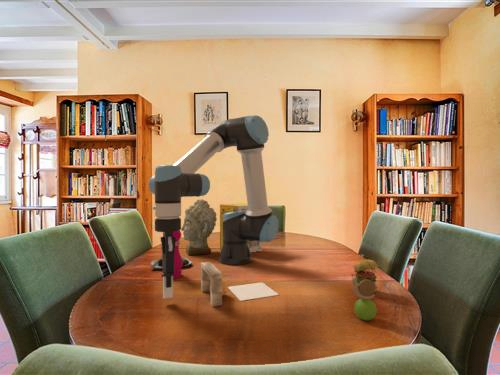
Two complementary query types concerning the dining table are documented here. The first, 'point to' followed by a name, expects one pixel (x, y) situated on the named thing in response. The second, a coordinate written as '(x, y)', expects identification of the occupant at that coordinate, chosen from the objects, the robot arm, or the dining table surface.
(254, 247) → the packaging box
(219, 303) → the bridge
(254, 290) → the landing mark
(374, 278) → the hamburger
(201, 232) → the buddha head
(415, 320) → the dining table surface
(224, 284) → the ball
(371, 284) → the snail figurine
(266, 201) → the robot arm
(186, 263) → the salad plate
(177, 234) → the pepper mill
